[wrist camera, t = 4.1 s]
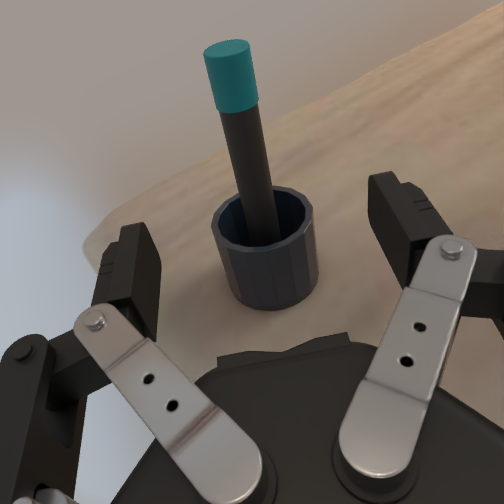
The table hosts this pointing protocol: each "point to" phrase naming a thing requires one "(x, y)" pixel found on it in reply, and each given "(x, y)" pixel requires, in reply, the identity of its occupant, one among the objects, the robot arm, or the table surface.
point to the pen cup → (269, 253)
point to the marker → (244, 135)
